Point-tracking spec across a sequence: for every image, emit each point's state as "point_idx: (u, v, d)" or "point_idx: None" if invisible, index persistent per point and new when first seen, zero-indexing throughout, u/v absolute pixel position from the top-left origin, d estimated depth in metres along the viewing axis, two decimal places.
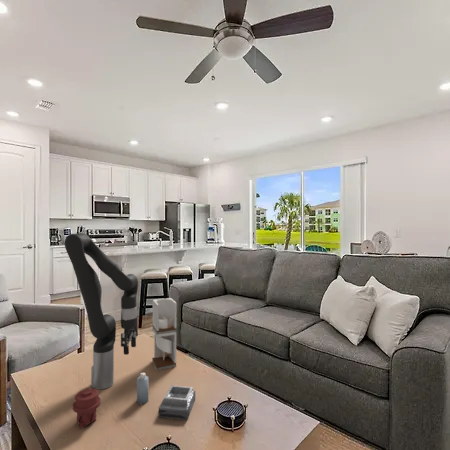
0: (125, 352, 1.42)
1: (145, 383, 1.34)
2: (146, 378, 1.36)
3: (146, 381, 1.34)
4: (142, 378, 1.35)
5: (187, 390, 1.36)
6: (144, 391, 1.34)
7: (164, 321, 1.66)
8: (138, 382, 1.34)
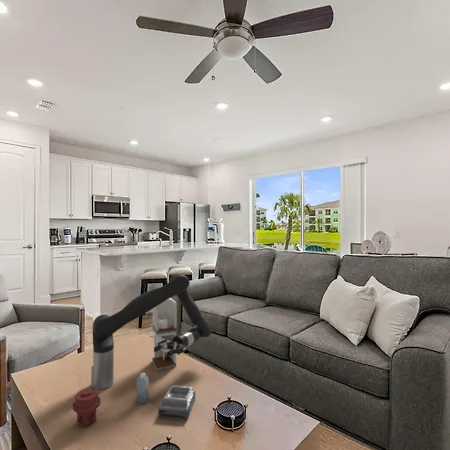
0: (170, 353, 1.43)
1: (145, 383, 1.34)
2: (146, 378, 1.36)
3: (146, 381, 1.34)
4: (142, 378, 1.35)
5: (187, 390, 1.36)
6: (144, 391, 1.34)
7: (164, 321, 1.66)
8: (138, 382, 1.34)
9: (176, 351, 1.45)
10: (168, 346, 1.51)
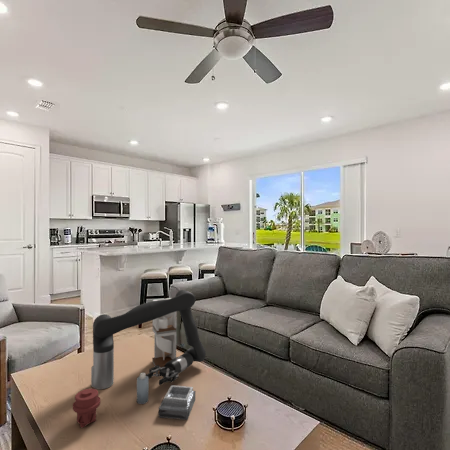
0: (162, 382, 1.39)
1: (145, 383, 1.34)
2: (146, 378, 1.36)
3: (146, 381, 1.34)
4: (142, 378, 1.35)
5: (187, 390, 1.36)
6: (144, 391, 1.34)
7: (164, 321, 1.66)
8: (138, 382, 1.34)
9: (168, 379, 1.41)
10: (160, 373, 1.47)
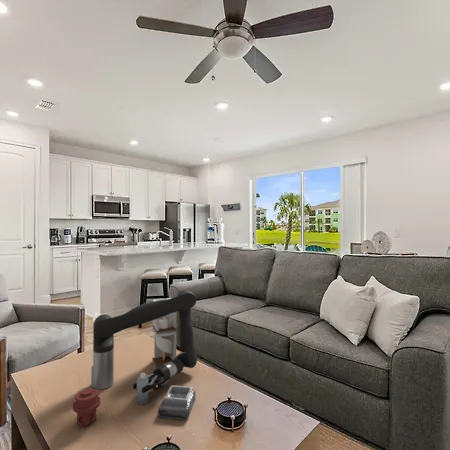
0: (146, 390, 1.32)
1: (145, 383, 1.34)
2: (146, 378, 1.36)
3: (146, 381, 1.34)
4: (142, 378, 1.35)
5: (187, 390, 1.36)
6: None
7: (164, 321, 1.66)
8: (138, 382, 1.34)
9: (152, 387, 1.35)
10: (150, 380, 1.40)
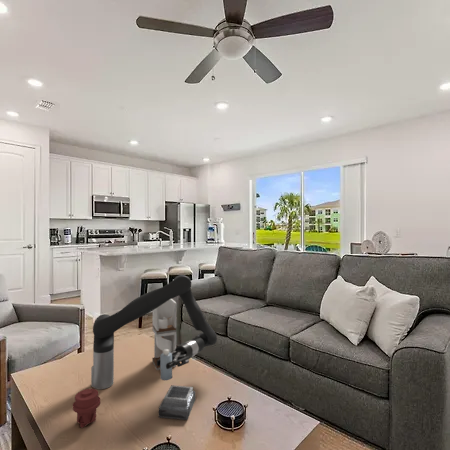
0: (170, 366, 1.30)
1: (169, 359, 1.32)
2: (170, 354, 1.34)
3: (170, 357, 1.32)
4: (166, 354, 1.32)
5: (187, 390, 1.36)
6: None
7: (164, 321, 1.66)
8: (162, 358, 1.31)
9: (176, 363, 1.32)
10: (173, 357, 1.37)
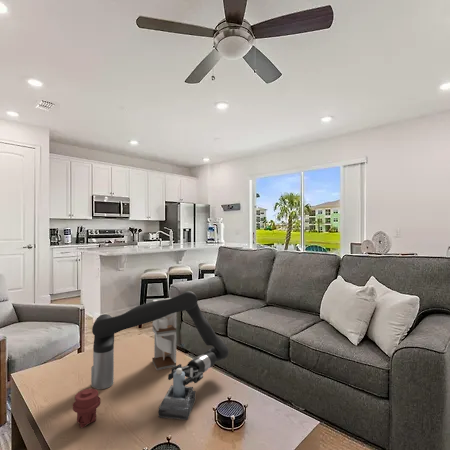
0: (187, 382, 1.29)
1: (182, 379, 1.30)
2: (183, 373, 1.32)
3: (183, 376, 1.31)
4: (179, 373, 1.31)
5: (187, 390, 1.36)
6: (181, 387, 1.30)
7: (164, 321, 1.66)
8: (175, 378, 1.30)
9: (193, 379, 1.31)
10: None
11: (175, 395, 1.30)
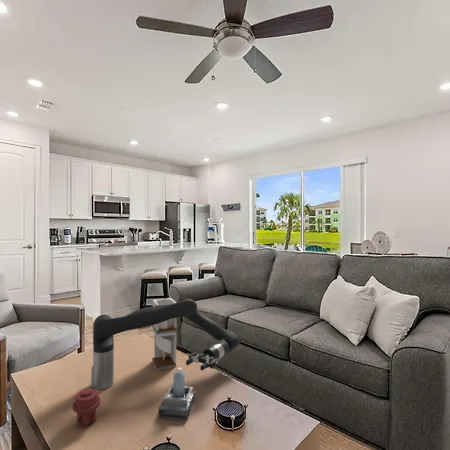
0: (204, 367, 1.40)
1: (182, 379, 1.30)
2: (183, 373, 1.32)
3: (183, 376, 1.31)
4: (179, 373, 1.31)
5: (187, 390, 1.36)
6: (182, 386, 1.30)
7: (164, 321, 1.66)
8: (175, 377, 1.30)
9: (209, 365, 1.42)
10: (200, 359, 1.47)
11: (175, 395, 1.30)
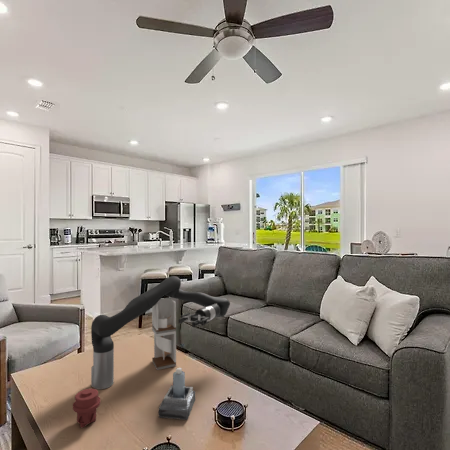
0: (195, 324, 1.48)
1: (182, 378, 1.30)
2: (183, 373, 1.32)
3: (183, 376, 1.31)
4: (179, 373, 1.31)
5: (187, 390, 1.36)
6: (181, 386, 1.30)
7: (164, 320, 1.67)
8: (175, 377, 1.30)
9: (200, 322, 1.50)
10: (192, 318, 1.55)
11: (175, 395, 1.30)
